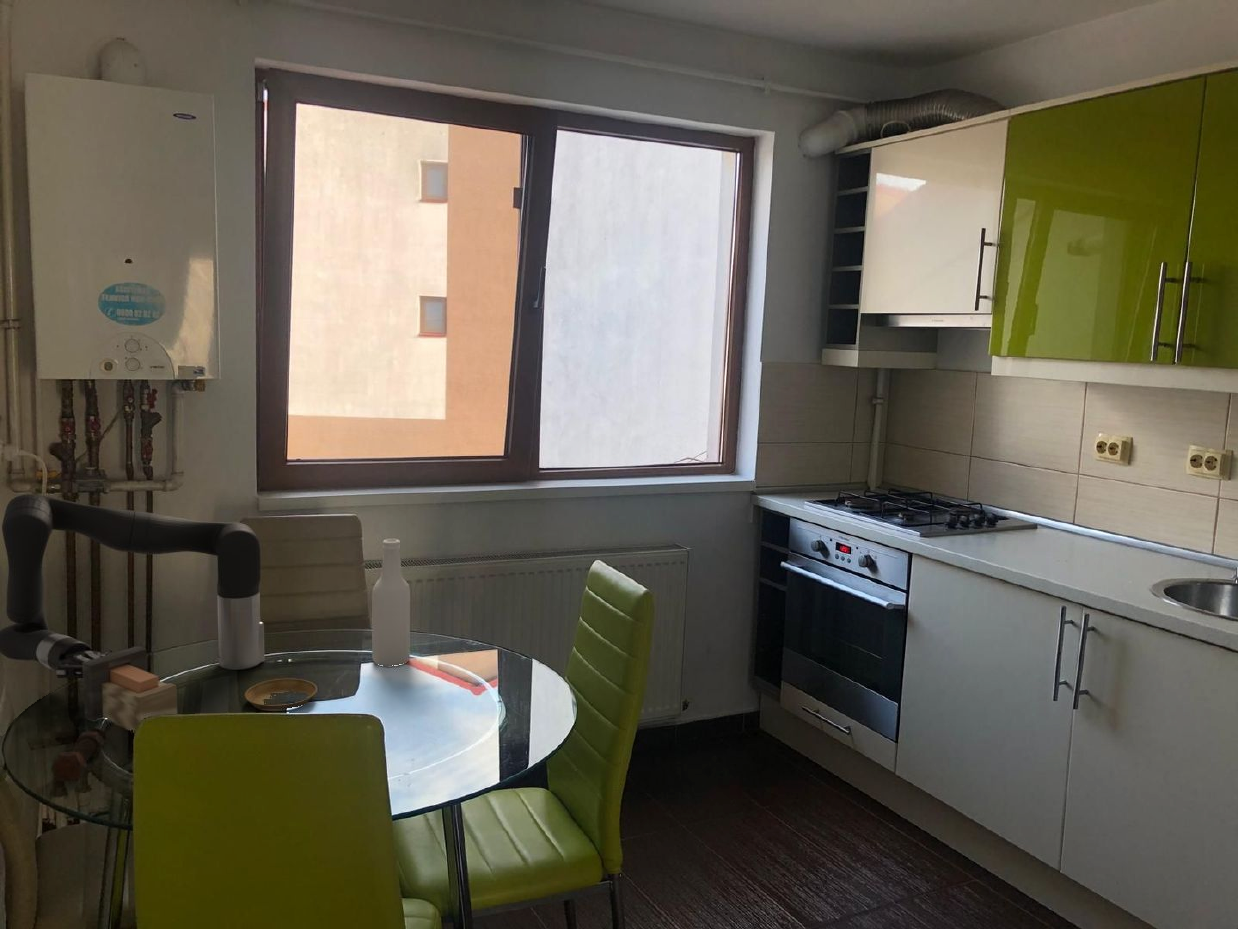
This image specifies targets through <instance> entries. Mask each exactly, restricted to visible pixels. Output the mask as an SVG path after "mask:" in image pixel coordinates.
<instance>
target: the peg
mask: <svg viewBox="0 0 1238 929" xmlns="http://www.w3.org/2000/svg"><path fill="white" fill-rule="evenodd" d="M158 681H159V676H158V675H155V674H153V673H151V672H148V671H147V672H146V671H143V670H141V669H138V668H136V667H133V666H131V665H128V664H126V663H124V664H120V665H117V666H114V667H111V668H109V682H112V683H114V684H117V685H119V686H121V687H124V688H126V689H128V690H131V691H133V692H136V693H138V694H139V693H142V692H145V691H148V690H151V689H154V688H157V687H159V685H158Z"/></svg>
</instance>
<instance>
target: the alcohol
mask: <svg viewBox="0 0 1238 929" xmlns="http://www.w3.org/2000/svg"><path fill="white" fill-rule="evenodd" d="M400 543H401V541H400V540H399V539H397V538H386V539H384V540H383V541H382V544H383V545H382V549H383V551H382V562H381V574H380V578H379V579H378V580H377V581H376V582H375V584H374V586H373V589H372V592H371V593H372V594H371V595H372V596H371V597H372V598H371V599H372V604H371V605H372V607H371V608H372V609H371V610H372V611H371V612H372V614H371V615H372V616H371V617H372V618H371V620H372V621H371V622H372V625H371V626H372V633H371V635H372V637H371V640H372V643H371V646H372V650H371V652H372V655H371V656H372V657H371V658H372V661H373V663H374V664H375V663H376V664H379V665H383V666H392V665H393V666H394V665H399V664H403V663H405V662H407V663H408V661H409V660H410V656H411V654H410V653H411V647H410V646H411V640H410V639H411V635H410V634H411V590H410V586H409V583H407V581H406V580H405V578H404V576H403V575H402V564H401V563H402V562H401V561H402V560H401V551H400V550H401V545H400ZM376 664H375V665H376ZM405 664H406V663H405Z"/></svg>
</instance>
